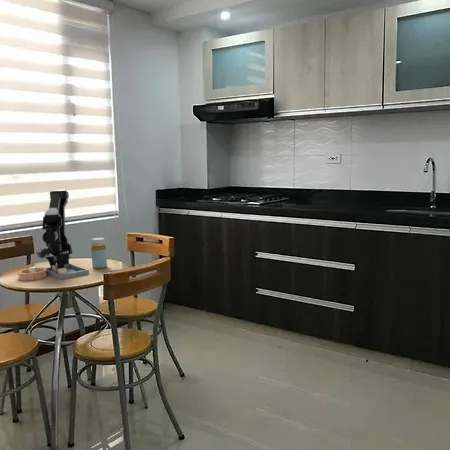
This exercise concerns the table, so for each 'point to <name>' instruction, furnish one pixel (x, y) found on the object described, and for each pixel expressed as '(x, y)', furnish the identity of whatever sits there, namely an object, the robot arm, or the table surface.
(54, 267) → the pebble
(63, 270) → the pebble
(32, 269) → the pebble
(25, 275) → the bowl
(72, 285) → the table surface
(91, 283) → the table surface
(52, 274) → the tray
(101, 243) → the bottle
